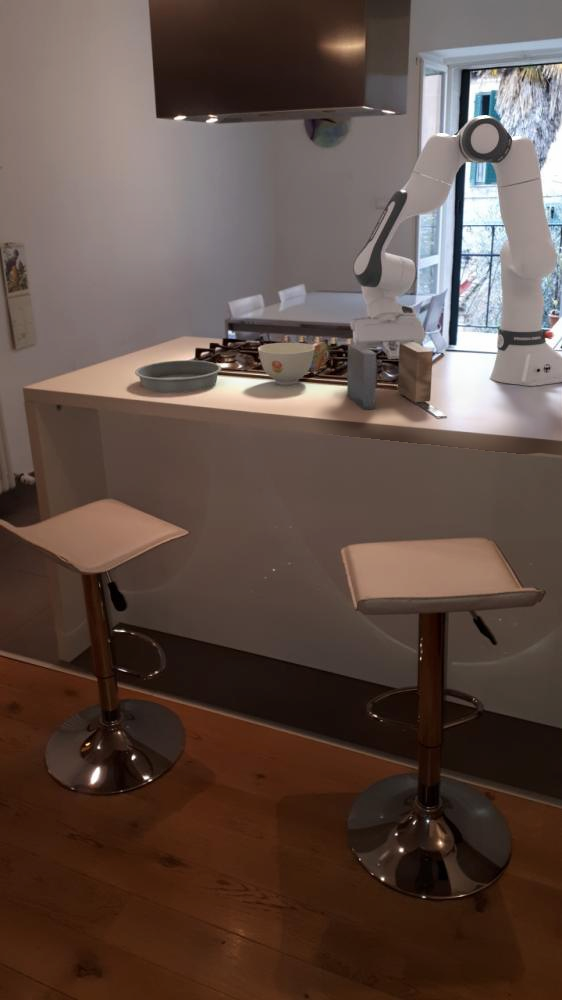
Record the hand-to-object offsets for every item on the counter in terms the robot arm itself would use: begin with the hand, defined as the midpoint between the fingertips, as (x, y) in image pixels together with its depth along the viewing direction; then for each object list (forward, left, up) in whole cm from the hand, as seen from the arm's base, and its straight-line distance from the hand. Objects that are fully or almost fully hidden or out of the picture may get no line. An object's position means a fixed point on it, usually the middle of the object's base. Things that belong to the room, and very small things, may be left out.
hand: (394, 357), depth 223 cm
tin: (+16, -24, -8) cm, 30 cm away
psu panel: (+7, +21, -8) cm, 23 cm away
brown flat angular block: (0, +15, -8) cm, 17 cm away
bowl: (+28, -12, -8) cm, 31 cm away
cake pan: (+58, -20, -8) cm, 62 cm away
